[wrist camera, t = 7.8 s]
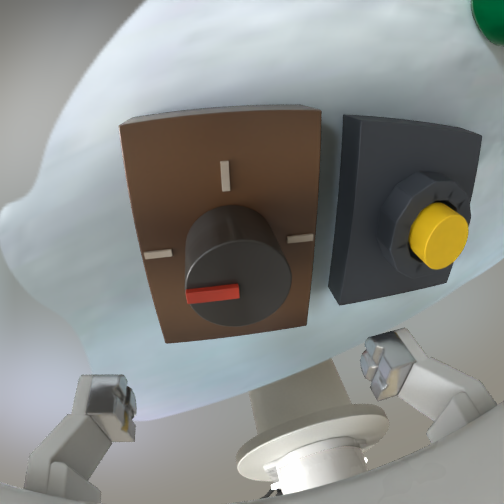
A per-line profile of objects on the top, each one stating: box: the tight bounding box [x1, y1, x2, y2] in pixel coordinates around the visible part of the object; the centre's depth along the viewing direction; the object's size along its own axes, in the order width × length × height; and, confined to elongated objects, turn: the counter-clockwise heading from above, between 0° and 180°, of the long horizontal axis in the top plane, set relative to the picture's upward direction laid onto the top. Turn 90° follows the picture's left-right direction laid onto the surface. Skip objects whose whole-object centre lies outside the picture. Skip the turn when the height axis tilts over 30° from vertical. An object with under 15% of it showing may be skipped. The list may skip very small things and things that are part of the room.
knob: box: [185, 205, 292, 327], centre depth 14 cm, size 4×4×4 cm
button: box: [409, 203, 468, 270], centre depth 16 cm, size 4×4×2 cm
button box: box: [328, 115, 482, 305], centre depth 18 cm, size 12×10×4 cm
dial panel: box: [119, 105, 322, 344], centre depth 17 cm, size 13×9×3 cm
